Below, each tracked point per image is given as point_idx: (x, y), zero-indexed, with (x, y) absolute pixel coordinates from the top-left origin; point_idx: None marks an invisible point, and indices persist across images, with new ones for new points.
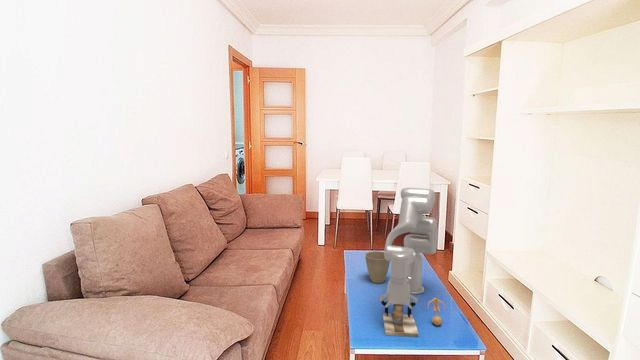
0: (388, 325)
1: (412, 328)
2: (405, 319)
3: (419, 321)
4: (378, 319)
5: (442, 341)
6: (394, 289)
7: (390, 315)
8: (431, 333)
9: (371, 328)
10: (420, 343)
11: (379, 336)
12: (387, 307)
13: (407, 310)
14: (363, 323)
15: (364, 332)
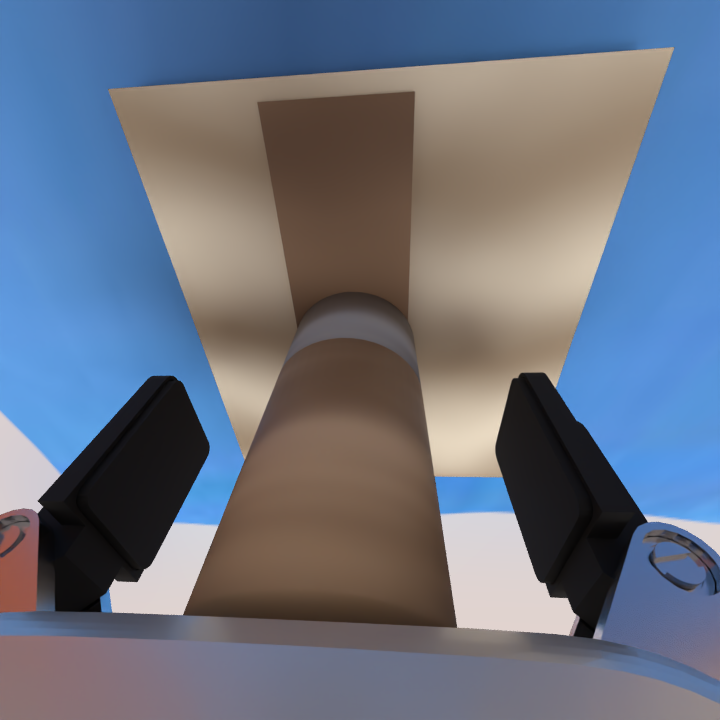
0: (258, 393)
1: (498, 419)
2: (475, 244)
3: (693, 167)
4: (114, 198)
5: (684, 482)
6: None
7: (248, 143)
8: (667, 404)
9: (120, 382)
10: (499, 504)
11: (217, 463)
12: (118, 567)
13: (536, 425)
14: (4, 312)
15: (94, 433)
